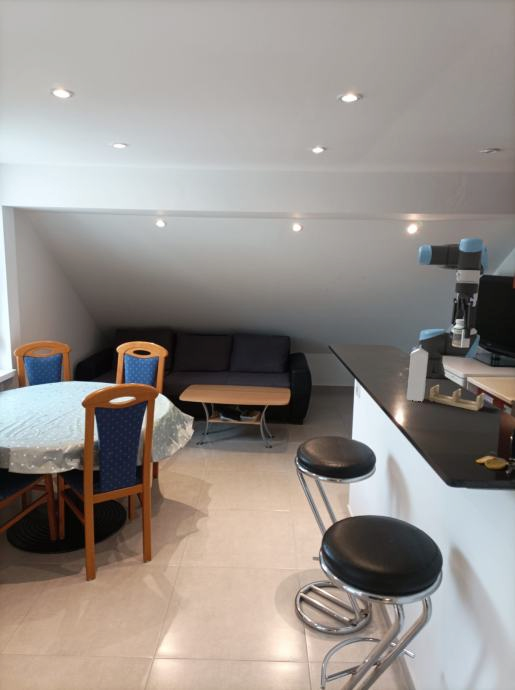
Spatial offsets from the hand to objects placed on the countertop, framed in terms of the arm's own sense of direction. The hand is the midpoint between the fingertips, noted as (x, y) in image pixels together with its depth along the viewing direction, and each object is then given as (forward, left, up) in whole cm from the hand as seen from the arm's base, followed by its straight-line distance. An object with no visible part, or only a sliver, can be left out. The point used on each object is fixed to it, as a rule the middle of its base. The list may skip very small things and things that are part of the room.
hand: (460, 345), depth 166 cm
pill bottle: (0, 0, -1) cm, 1 cm away
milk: (-1, -15, -24) cm, 29 cm away
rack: (-7, -2, -24) cm, 25 cm away
